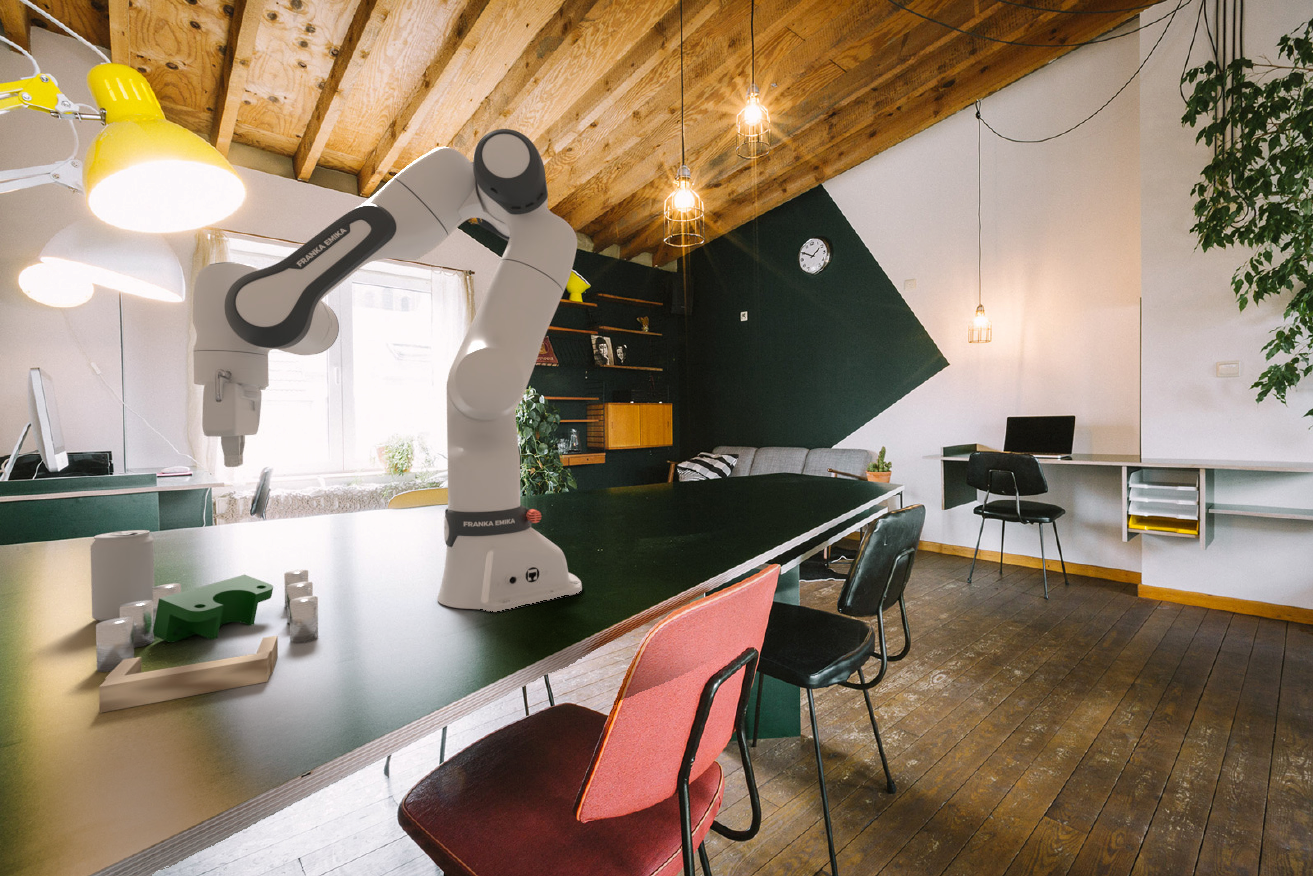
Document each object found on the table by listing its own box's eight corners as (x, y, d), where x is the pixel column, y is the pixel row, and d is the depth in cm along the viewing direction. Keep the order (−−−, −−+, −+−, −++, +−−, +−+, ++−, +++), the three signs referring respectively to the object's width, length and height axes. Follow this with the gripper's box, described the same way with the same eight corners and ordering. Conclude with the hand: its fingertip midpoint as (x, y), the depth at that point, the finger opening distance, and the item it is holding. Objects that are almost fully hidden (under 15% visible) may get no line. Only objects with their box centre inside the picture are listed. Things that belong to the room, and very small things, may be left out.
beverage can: (115, 626, 74) (113, 538, 73) (79, 623, 75) (77, 536, 75) (166, 610, 80) (165, 529, 80) (132, 607, 81) (130, 528, 81)
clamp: (199, 675, 69) (181, 623, 65) (163, 660, 70) (143, 607, 66) (283, 611, 79) (272, 563, 75) (251, 599, 80) (238, 550, 76)
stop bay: (277, 656, 64) (277, 635, 64) (269, 681, 58) (269, 657, 58) (124, 682, 57) (123, 659, 57) (96, 713, 51) (96, 687, 51)
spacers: (324, 598, 85) (323, 567, 85) (317, 640, 69) (316, 601, 69) (146, 622, 75) (146, 586, 75) (88, 677, 59) (87, 631, 58)
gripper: (246, 368, 74) (248, 470, 74) (267, 380, 92) (268, 462, 92) (186, 366, 71) (188, 472, 71) (220, 378, 88) (221, 463, 89)
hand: (233, 466), depth 81 cm, fingers closed
